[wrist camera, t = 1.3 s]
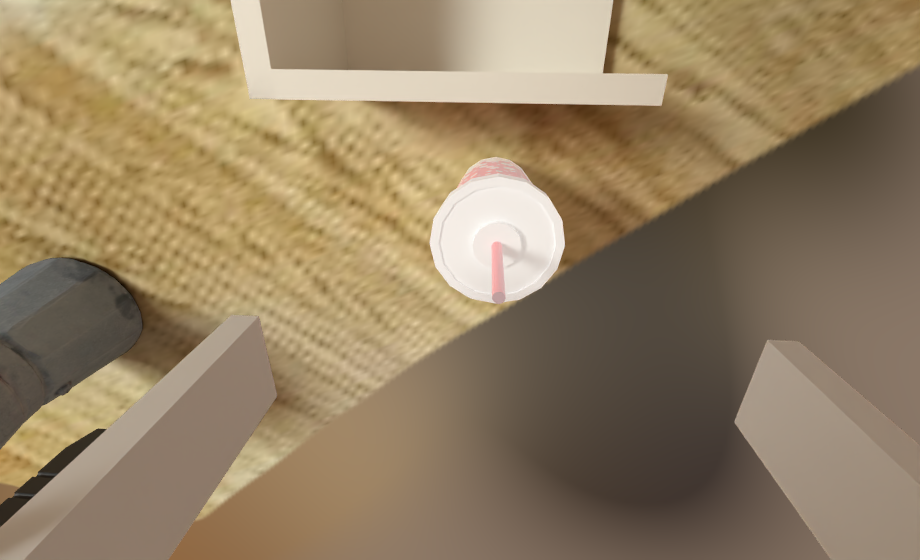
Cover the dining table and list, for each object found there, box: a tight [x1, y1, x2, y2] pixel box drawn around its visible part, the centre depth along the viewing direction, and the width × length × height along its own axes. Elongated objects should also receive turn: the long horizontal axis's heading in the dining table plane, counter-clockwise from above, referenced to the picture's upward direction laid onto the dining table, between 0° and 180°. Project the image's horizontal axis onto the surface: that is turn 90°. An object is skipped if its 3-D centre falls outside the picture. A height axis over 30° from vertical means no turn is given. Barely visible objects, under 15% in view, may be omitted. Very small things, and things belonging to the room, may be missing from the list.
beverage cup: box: [430, 157, 565, 304], centre depth 21 cm, size 6×6×14 cm
